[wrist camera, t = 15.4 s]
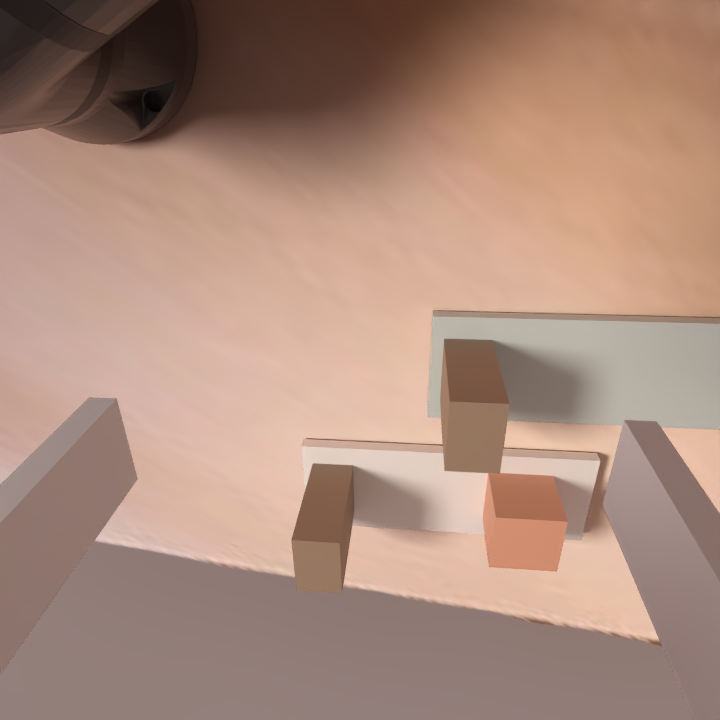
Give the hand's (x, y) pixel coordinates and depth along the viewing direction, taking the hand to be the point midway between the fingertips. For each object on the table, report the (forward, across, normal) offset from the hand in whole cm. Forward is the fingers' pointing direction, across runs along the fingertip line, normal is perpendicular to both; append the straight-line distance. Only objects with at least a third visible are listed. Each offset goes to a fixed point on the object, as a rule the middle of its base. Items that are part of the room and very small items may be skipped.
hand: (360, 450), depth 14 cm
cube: (+30, +12, -28) cm, 43 cm away
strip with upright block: (+32, +17, -14) cm, 39 cm away
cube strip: (+32, +5, -28) cm, 43 cm away
